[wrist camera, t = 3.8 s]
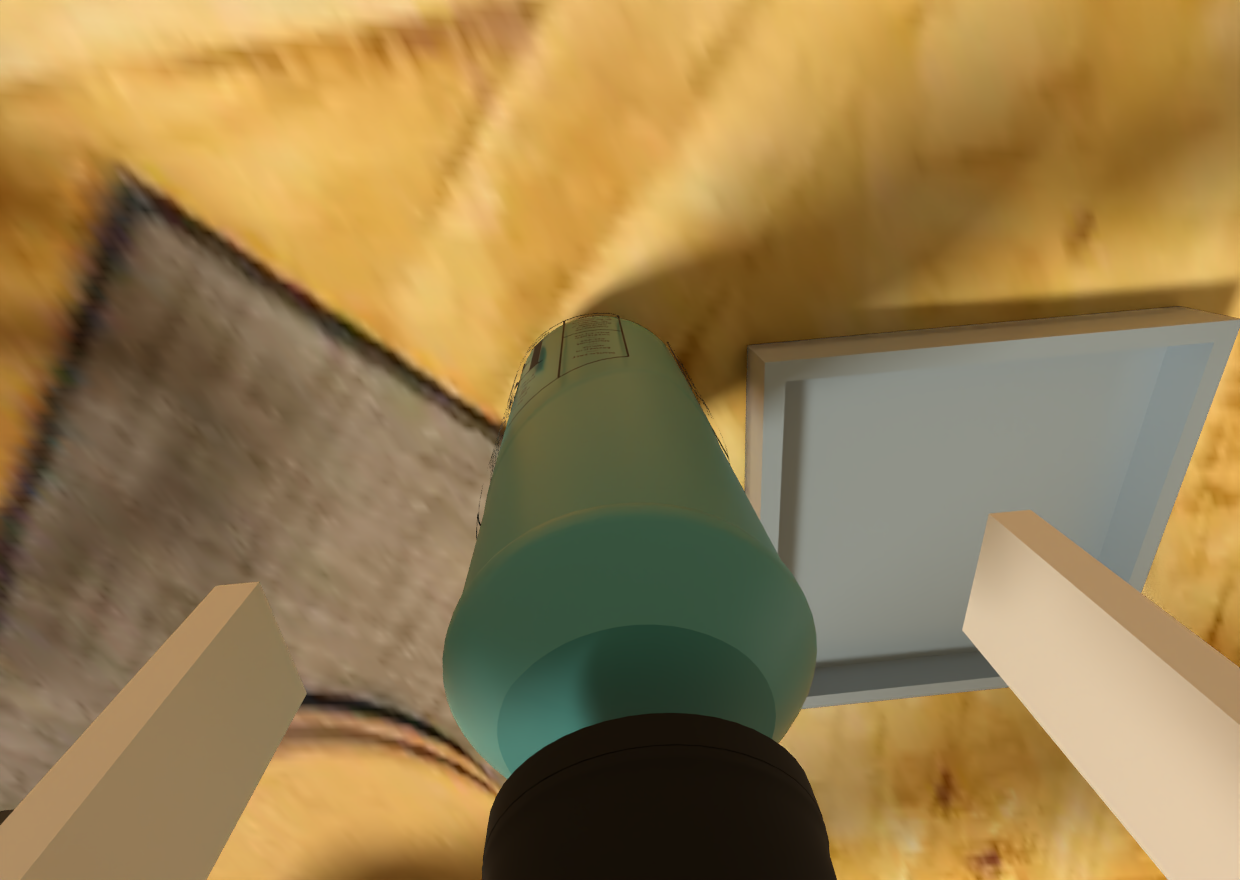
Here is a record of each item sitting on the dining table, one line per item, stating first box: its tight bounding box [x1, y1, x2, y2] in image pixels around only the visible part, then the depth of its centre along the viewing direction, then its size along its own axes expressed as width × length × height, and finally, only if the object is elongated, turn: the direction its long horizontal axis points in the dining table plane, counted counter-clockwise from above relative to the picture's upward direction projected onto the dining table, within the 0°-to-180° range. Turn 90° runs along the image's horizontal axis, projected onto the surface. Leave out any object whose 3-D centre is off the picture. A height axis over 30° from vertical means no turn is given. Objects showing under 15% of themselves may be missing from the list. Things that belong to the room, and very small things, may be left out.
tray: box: [745, 306, 1240, 709], centre depth 26 cm, size 18×18×2 cm
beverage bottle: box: [443, 313, 837, 880], centre depth 14 cm, size 6×7×20 cm
